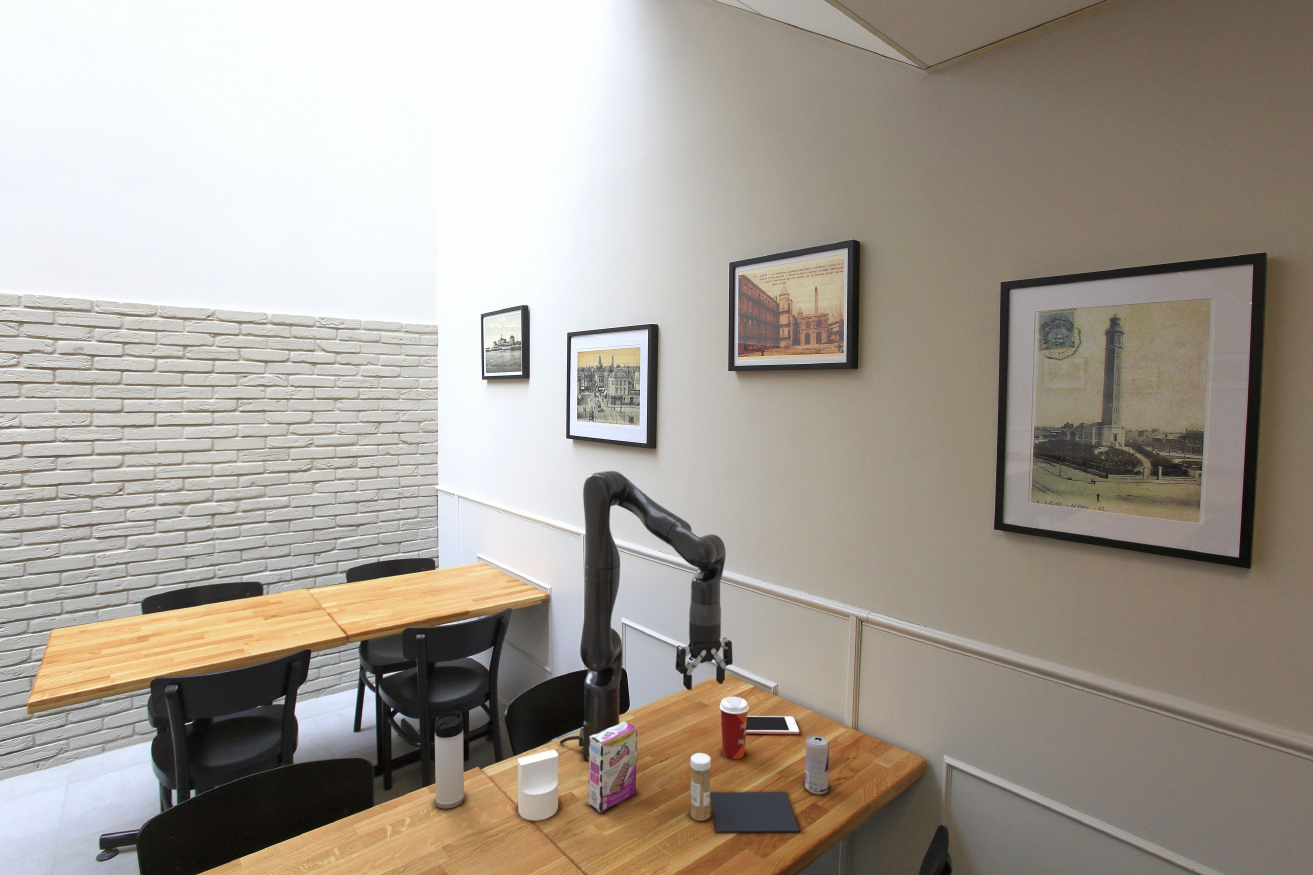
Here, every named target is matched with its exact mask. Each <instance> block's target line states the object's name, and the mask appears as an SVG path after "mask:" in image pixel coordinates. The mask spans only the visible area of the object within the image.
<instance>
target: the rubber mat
mask: <svg viewBox="0 0 1313 875" xmlns="http://www.w3.org/2000/svg"><path fill="white" fill-rule="evenodd" d="M710 803H711V808H712V814H713V821H714V826H715V832H716V833H717V834H719V833H720V834H722V833H723V834H729V833H730V834H731V833H733V834H735V833H737V834H738V833H739V834H740V833H745V834H746V833H747V834H748V833H749V834H750V833H800V829H799V826H798V823H797V821H796V818H795V815H794V812H793V810H792V806H791V804H790V801H789V798H788V796H787V793H786V791H765V792H764V791H763V792H762V791H761V792H759V791H757V792H755V791H752V792H751V791H750V792H749V791H747V792H745V791H744V792H741V791H739V792H736V791H735V792H731V791H729V792H728V791H727V792H726V791H725V792H710Z"/></svg>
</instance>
